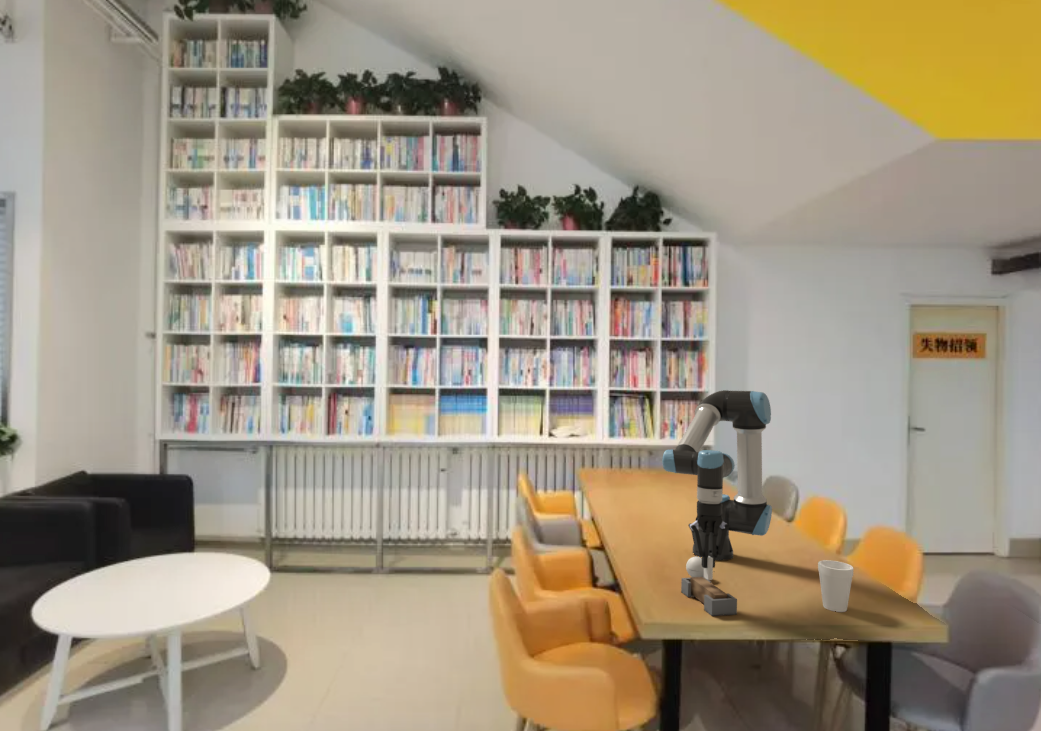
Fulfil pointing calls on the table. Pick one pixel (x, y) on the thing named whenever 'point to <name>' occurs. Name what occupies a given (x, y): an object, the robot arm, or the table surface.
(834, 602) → the foam cup
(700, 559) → the ball
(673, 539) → the table surface
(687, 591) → the cap
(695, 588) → the slat
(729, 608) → the cap
